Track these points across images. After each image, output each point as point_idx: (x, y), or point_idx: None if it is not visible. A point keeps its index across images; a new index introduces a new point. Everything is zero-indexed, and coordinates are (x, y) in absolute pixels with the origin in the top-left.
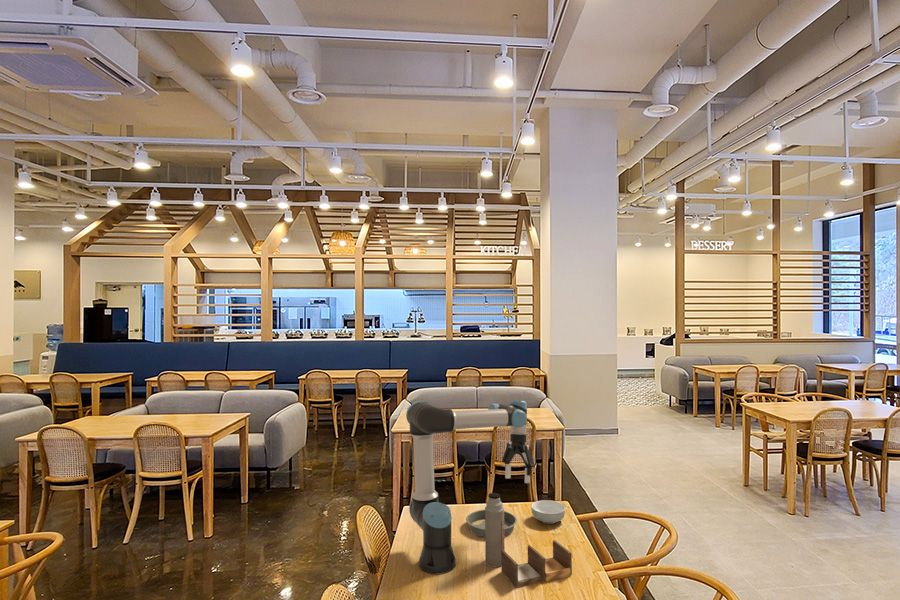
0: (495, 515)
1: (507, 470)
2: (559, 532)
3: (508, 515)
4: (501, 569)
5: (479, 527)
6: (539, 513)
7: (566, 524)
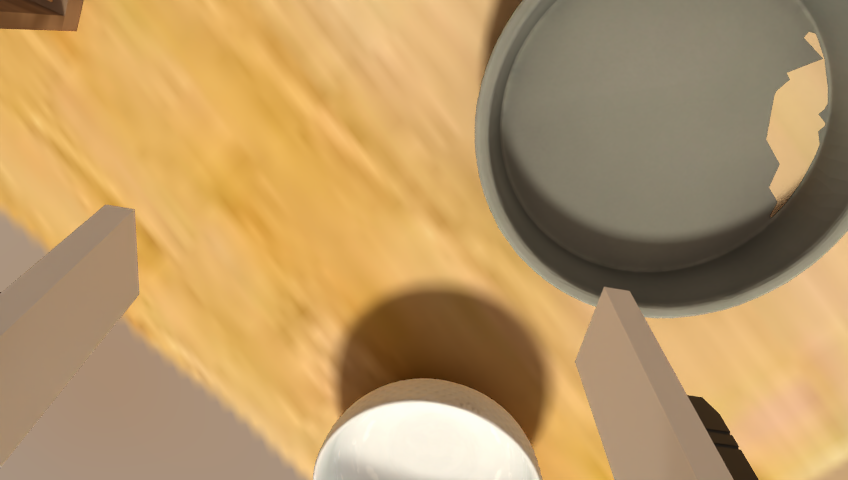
0: None
1: (636, 394)
2: (291, 350)
3: None
4: None
5: (737, 61)
6: (418, 394)
7: None
